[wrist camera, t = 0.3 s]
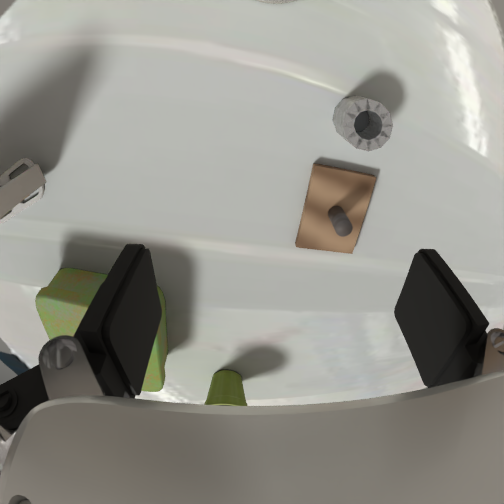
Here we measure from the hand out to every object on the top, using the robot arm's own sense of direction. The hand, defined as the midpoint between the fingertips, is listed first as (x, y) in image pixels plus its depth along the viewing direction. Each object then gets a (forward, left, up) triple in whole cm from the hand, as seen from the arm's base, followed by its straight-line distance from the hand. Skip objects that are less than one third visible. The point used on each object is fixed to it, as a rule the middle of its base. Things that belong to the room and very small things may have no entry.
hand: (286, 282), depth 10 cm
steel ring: (-3, +14, -35) cm, 38 cm away
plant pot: (+60, +1, -35) cm, 70 cm away
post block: (+12, +14, -35) cm, 39 cm away
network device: (+14, -46, -35) cm, 60 cm away
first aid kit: (+43, -26, -36) cm, 62 cm away
